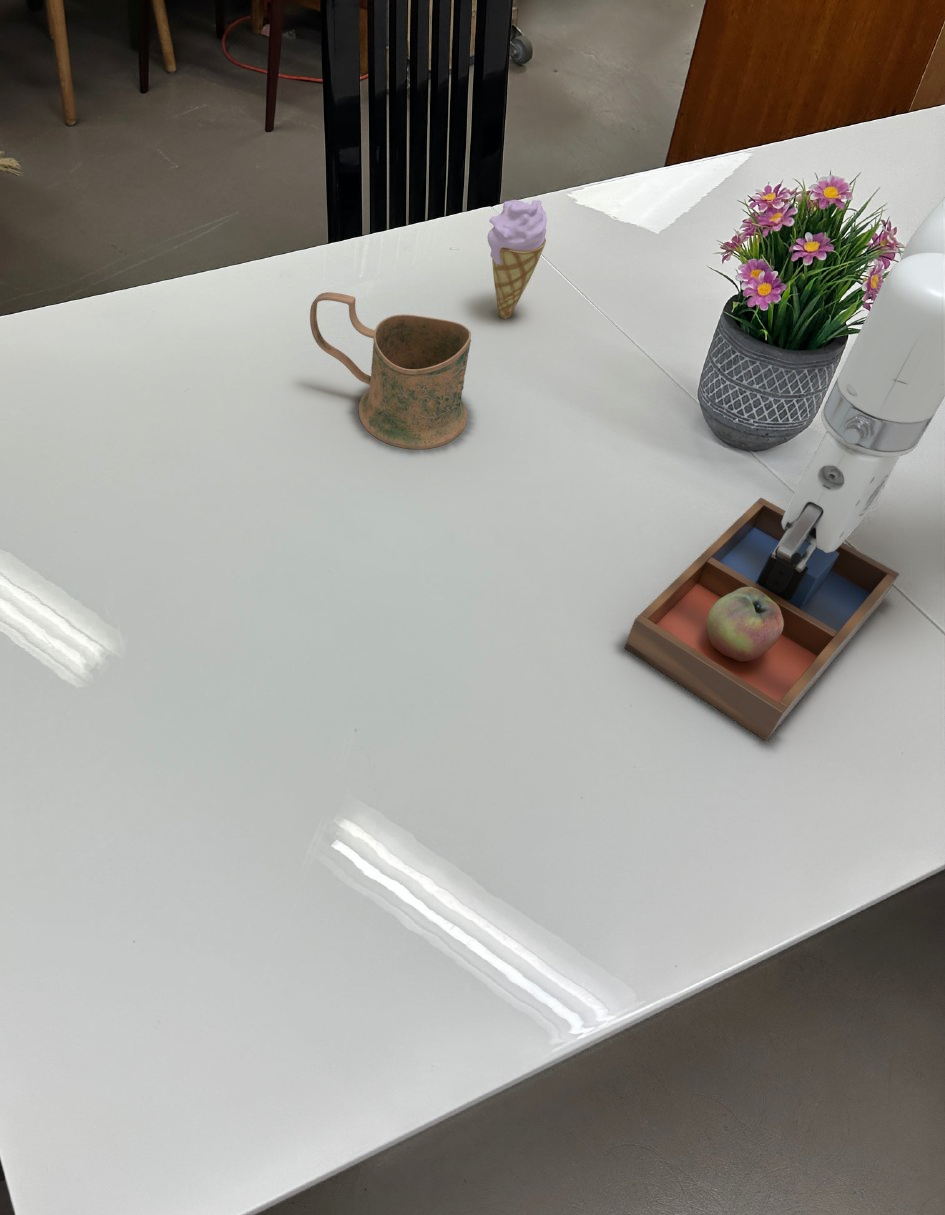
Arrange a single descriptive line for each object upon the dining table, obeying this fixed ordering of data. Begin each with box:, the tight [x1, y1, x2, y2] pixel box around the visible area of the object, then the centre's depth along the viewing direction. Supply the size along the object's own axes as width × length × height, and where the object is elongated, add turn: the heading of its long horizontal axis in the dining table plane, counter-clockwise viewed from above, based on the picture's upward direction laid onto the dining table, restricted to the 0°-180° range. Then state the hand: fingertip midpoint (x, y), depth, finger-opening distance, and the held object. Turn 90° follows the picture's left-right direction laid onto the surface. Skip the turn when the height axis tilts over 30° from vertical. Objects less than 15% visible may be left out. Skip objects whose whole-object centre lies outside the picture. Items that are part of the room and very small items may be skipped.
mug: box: [309, 291, 472, 450], centre depth 112 cm, size 12×18×12 cm, turn 70°
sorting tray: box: [623, 497, 900, 742], centre depth 96 cm, size 22×14×4 cm, turn 137°
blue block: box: [756, 541, 839, 610], centre depth 98 cm, size 4×4×4 cm
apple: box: [707, 587, 784, 662], centre depth 92 cm, size 6×8×6 cm
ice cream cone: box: [487, 199, 548, 320], centre depth 123 cm, size 7×6×15 cm
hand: (795, 566), depth 98 cm, fingers open, 7 cm apart
